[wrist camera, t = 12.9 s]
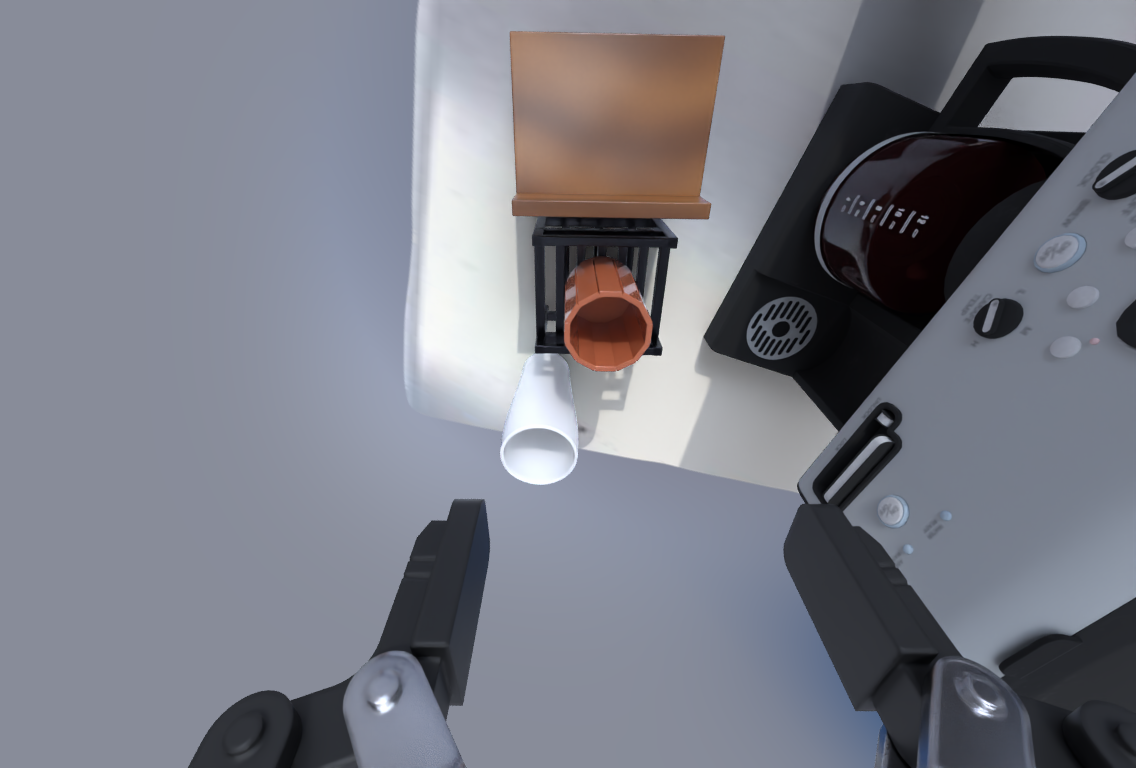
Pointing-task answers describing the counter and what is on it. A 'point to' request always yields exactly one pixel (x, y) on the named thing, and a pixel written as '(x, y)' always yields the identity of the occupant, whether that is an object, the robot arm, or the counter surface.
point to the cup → (605, 315)
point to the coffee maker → (972, 356)
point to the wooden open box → (612, 123)
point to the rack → (600, 240)
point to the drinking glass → (541, 423)
